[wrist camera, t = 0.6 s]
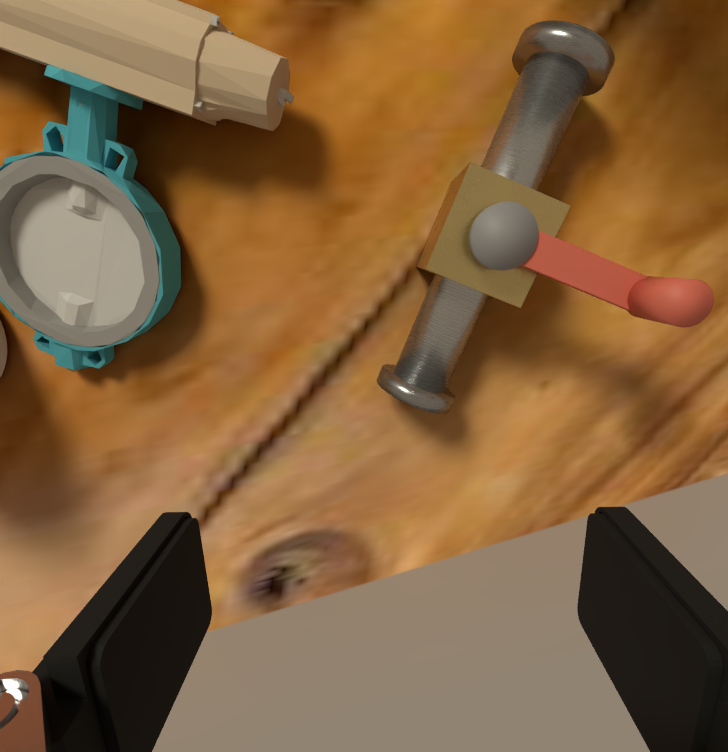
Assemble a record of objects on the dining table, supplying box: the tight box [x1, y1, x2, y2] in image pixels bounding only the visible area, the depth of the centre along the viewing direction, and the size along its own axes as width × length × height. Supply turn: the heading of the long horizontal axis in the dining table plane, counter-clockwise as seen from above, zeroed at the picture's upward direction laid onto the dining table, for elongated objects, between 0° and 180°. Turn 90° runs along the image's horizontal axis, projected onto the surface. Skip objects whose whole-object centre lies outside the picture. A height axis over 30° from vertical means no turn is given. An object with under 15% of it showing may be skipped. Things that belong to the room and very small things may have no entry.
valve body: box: [377, 21, 615, 414], centre depth 32 cm, size 26×7×8 cm, turn 158°
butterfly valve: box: [0, 0, 294, 372], centre depth 34 cm, size 27×7×30 cm
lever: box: [468, 201, 714, 327], centre depth 26 cm, size 13×4×5 cm, turn 68°
